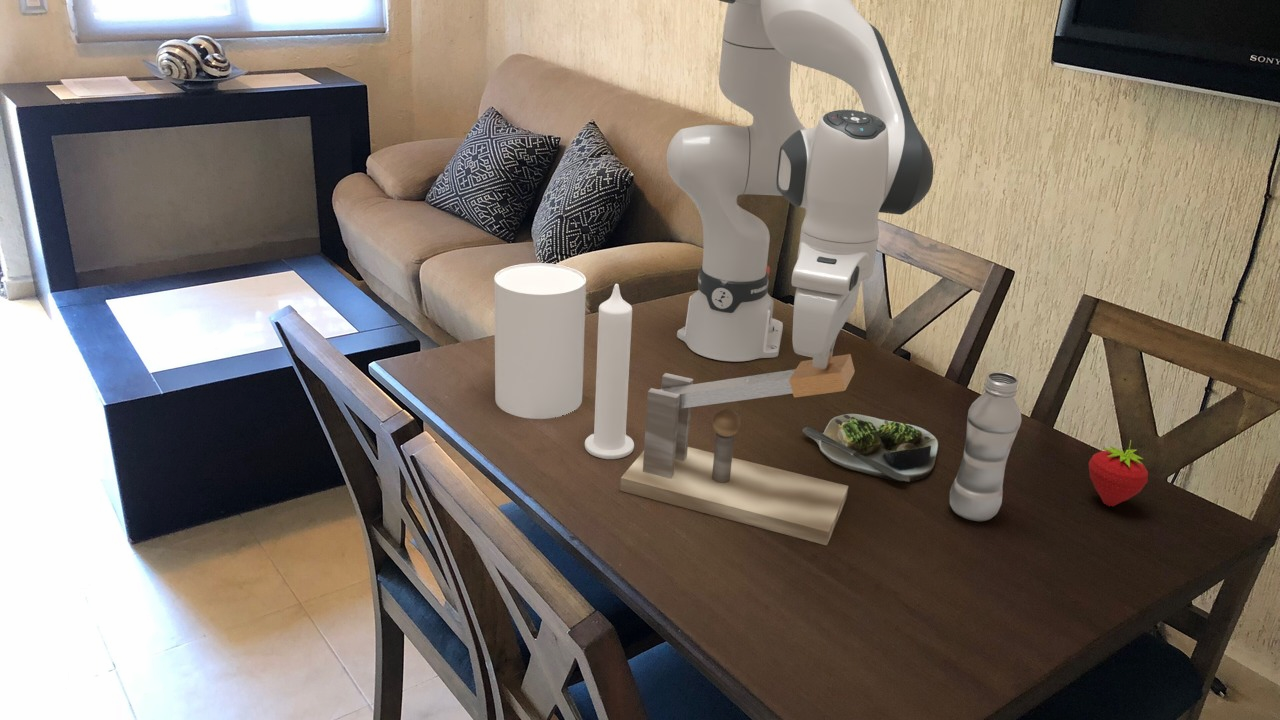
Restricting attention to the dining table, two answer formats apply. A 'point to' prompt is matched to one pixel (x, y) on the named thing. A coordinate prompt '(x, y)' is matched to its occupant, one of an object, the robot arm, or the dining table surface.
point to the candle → (612, 380)
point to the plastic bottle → (986, 449)
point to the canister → (539, 339)
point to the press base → (726, 475)
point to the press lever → (770, 384)
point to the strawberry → (1117, 475)
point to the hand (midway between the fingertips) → (821, 364)
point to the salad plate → (878, 446)
